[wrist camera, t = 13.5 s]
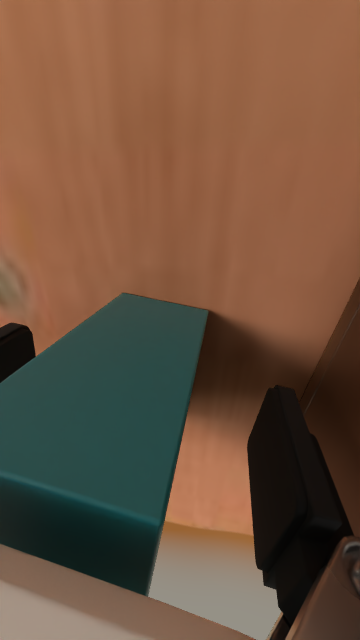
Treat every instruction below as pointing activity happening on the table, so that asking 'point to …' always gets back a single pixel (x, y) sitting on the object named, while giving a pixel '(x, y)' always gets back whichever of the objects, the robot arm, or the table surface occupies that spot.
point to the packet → (99, 439)
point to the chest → (339, 408)
